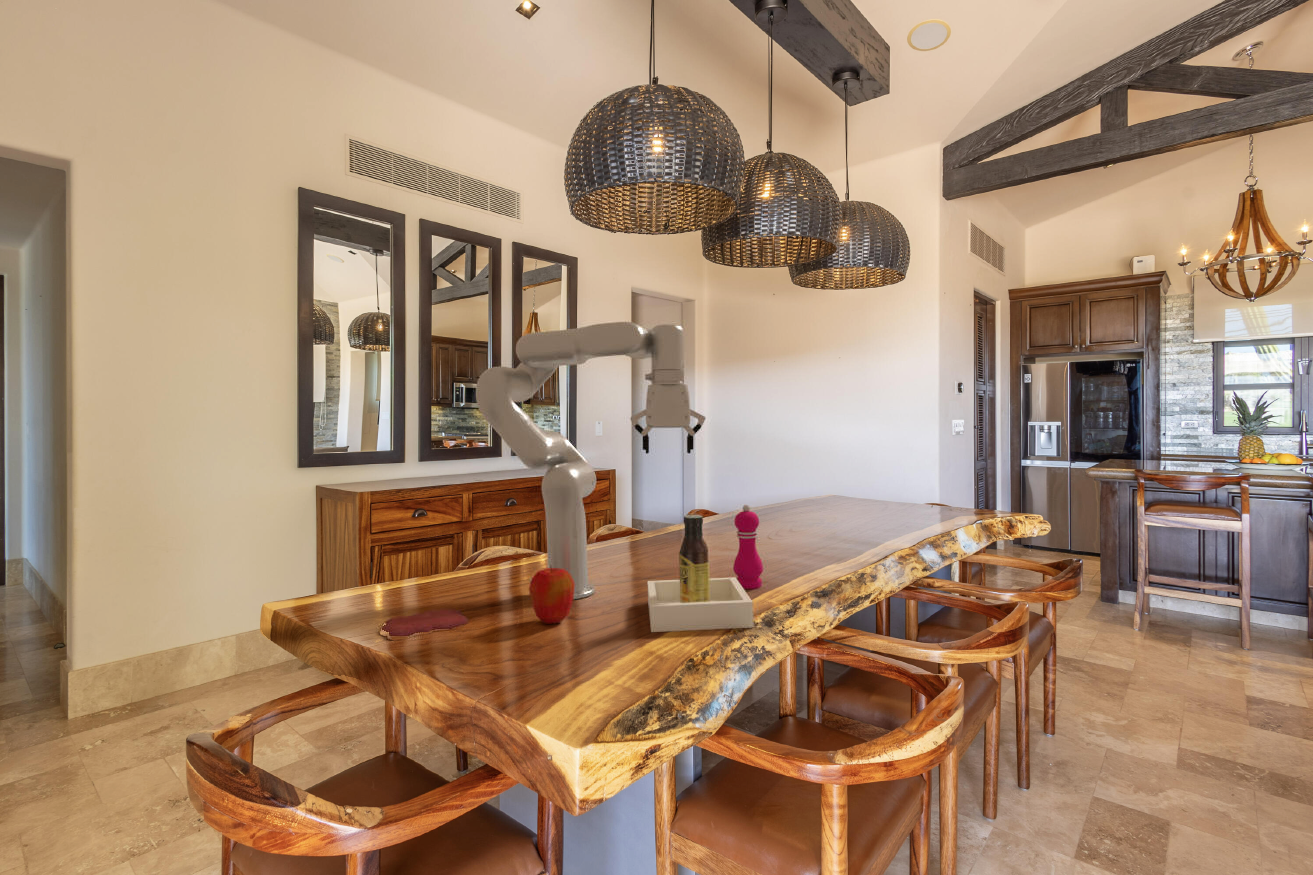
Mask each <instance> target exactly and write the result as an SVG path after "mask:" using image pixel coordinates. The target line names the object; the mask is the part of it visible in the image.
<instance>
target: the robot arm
mask: <svg viewBox="0 0 1313 875" xmlns="http://www.w3.org/2000/svg"><path fill="white" fill-rule="evenodd" d="M684 334H685V333H684V328H683V327H682V326H681V325H678V324H674V323H673V324H671V323H665V324H664V323H663V324H657V325H655V326H654V327H652V328H647V327H643V326H642V325H640V324H637V323H635V322H632V321H615V322H607V323H606V322H605V323H604V322H603V323H595V324H590V325H587V326H582V327H579V328H570V329H560V330H559V329H558V330H549V331H535V332H530V333H526V334H524V335H522V336H521V337H520V338H519V339H518V341H517V342H516V345H515V353H516V354H515V355H516V356H517V358H518V360H519V361H520V363H518V364H519V365H517V367H514V368H513V367H507V366H493V367H490V368H488V369H486V370H484V371H483V372H482V373H481V375H480V376H479V378H478V380H477V383H476V385H475V386H476V387H475V400H476V403H477V407H478V410H479V412H480V413H481V415H482V416H483V418H484V419H485V420H486V422H487V423H488V424H489V425H490V427H491V428H492V429H493V430H494V431H495V433H497V434H498V435H499V436H500V437H501V439H502V440H503V441H504V443H505V444H506V445H507V446H508V447H509V448H510V449H511V451H512V453H514V454H515V456H517V458H518V459H519V460H520V461H521V462H522V463H523V465H525V466H526V467H527V468H528V469H531V470H544V469H545V470H546V472H545V473H544V475H543V477H542V481H541V493H542V499H543V503H544V511H545V512H544V513H545V524H546V526H545V527H546V528H545V529H546V545H547V546H546V548H547V550H546V551H547V568H551V567H552V568H559V569H564V570H566V571H567V572H568V573H569V574H570V575H571V577H572V579H573V581H574V583H575V587H574V597H573V600H578V599H583V598H587V597H589V596H591V595H593V594H594V593H595V591H596V588H595V585H593V584H591V583H589V575H588V574H589V571H588V547H587V546H588V540H587V522H586V521H587V520H586V518H587V517H586V511H585V510H586V509H585V507H584V501H583V498H586V497H588V496H589V495H591V494H592V493H593V492H594V491H595V488H596V485H597V475H596V472H595V470H594V468H593V467H592V465H591V464H590V463H589V461H587V460H586V459H585V457H583V455H582V453H580V452H579V451H578V449H576V448H575V446H574V445H573V444H572V443H571V442H570V440H569V439H568V438H566V436H564V435H563V434H561V433H560V432H557V431H554V430H544V429H542V428H541V427H539V426H538V425H537V423H536V422H535V421H533V419H532V418H531V416H530V415H529V414H528V413H527V412H526V411H525V410H524V409H522V408H521V407H520V406H518V404H516V403H521V402H525V401H527V400H529V399H531V398H532V397H533V396H534V395H535V394H536V393H537V392H538V391H539V390H540V389H541V387H543V385H545V383H546V382H547V381H548V380H549V379H550V377H552V376H553V374H554V373H555V372H556V370H558V368H559V367H561V366H576V365H582V364H583V365H584V363H586V362H587V361H588V360H590V359H595V358H601V357H602V358H603V357H604V358H605V357H615V356H617V357H618V356H626V357H630V358H632V359H634V360H644V359H650V358H651V359H650V360H651V364H650V365H651V372H649V373H647V374H646V373H645V376H644V377H645V378H644V380H645V381H650V382H651V384H648V385H647V391H646V399H645V400H646V401H645V404H646V405H645V409H643V410H642V411H640V412H637V413H636V414H634V415H632V416H631V417H630V422H631V423H632V425H633V428H634V429H635V430H636V431H637V432H638V433H639V434H640V435H641V437H642V450H643V451H645V454H647V455H648V454H649V453H650V436H649V432H650V431H651V430H652V429H653V428H654V429H662V428H663V429H667V428H668V429H672V428H673V429H674V428H675V429H676V428H677V429H678V428H679V429H680V428H683V429H684V430H685V431H686V432H687V436H686V452H687V454H691V452H692V451H693V450H694V436H695V435H696V434H697V433H698V432H699V430H701V428H702V427H703V425H704V423H705V420H706V416H705V415H702V414H701V413H698V412H696V411H694V410H692V409H691V404H690V393H689V392H690V391H689V387H688V384H685V348H684V347H685V343H684V342H685V339H684V338H685V335H684ZM644 417H645V424H646V426H645V427H644V428H643V427H642V426H641V425H640V423H639V420H640V419H642V418H644ZM691 417H692V418H695V419H696V420H697V423H696V425H695V426H694V427H693V428H692V427H691V426H690V424H691ZM550 565H551V567H550ZM532 578H533V577H531V578H529V583H530V584H531V580H532Z"/></svg>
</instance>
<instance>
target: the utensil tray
mask: <svg viewBox="0 0 1313 875" xmlns="http://www.w3.org/2000/svg"><path fill="white" fill-rule="evenodd" d="M736 578H737V576H736V577H735V576H733V577H711V578H710V577H709V595H710V602H690V603H681V601H680V579H669V580H668V579H667V580H666V579H664V580H661V579H660V580H647V602H648V615H649V624H650V632H651V633H657V632H659V633H660V632H662V633H663V632H679V631H681V632H682V631H683V632H684V631H706V630H708V631H709V630H725V629H726V630H729V629H747V628H754V604H753V603H754V602H753V600H752V599H751V597H750V595H748V593H747V592H746V589H743V587H742V586H741V585H740V583H739V582H738V580H737V579H736Z"/></svg>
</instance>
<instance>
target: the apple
mask: <svg viewBox="0 0 1313 875" xmlns="http://www.w3.org/2000/svg"><path fill="white" fill-rule="evenodd" d="M550 567H551V565H550ZM531 578H532V580H531V584H530V585H529V587H528V590H529V596H530V601H531V605H532V608H533V610H534V613H535V616H536V618H538V619H539V620H540V621H541V622H543V623H544V624H547V625H548V624H549V625H551V624H557V623H561V622H562V621H563V620H565V618H567V617H568V616H569V615H570V611H571V609H572V605H573V602H574V599H573V597H574V587H575V583H574V581H573V579H572V577H571V575H570V574H569V573H568V572H567V571H566V570H564V569H559V568H552V567H551V568H548V567H546V568H543V569H540V570H537V572H536V573H535V574H534V575H533V577H531Z"/></svg>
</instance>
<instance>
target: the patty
mask: <svg viewBox="0 0 1313 875" xmlns="http://www.w3.org/2000/svg"><path fill="white" fill-rule="evenodd" d="M462 613H463V612H462V611H461V610H459V609H452V608H451V609H450V608H448V609H447V608H446V609H445V608H444V609H436V610H429V611H424V612H420V613H417V614H412V615H407V616H396V617H393V618H390V619H387V620H386V621H384V622H385V623H386V625H384V626H383V625H382V626H383V627H381V628H382V630H384V631H386V632H389V635H390V636H410V635H413V634H415V633H418V632H419V633H420V632H429V631H431V630H435V629H452V628H455V627H459V626H461V625H464V624H465V623H467V622H469V619H468V617H466V616H465V615H464V614H463V615H462ZM467 624H468V623H467ZM464 626H465V625H464ZM452 630H453V629H452Z"/></svg>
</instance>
